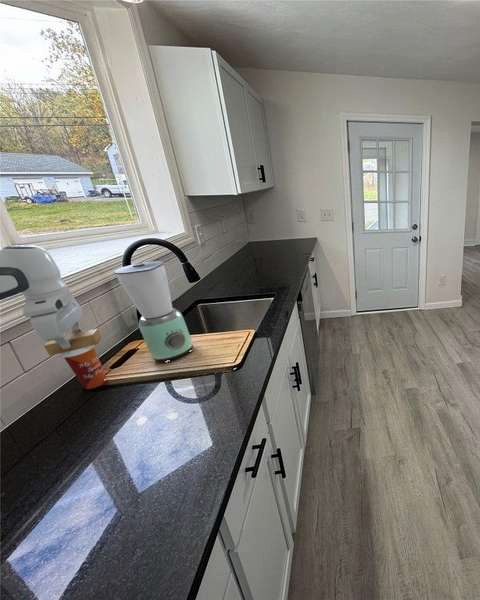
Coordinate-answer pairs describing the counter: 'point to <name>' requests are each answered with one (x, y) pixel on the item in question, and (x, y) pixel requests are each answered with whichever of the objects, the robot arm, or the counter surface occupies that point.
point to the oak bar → (75, 342)
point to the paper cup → (86, 366)
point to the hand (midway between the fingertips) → (73, 341)
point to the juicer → (156, 310)
